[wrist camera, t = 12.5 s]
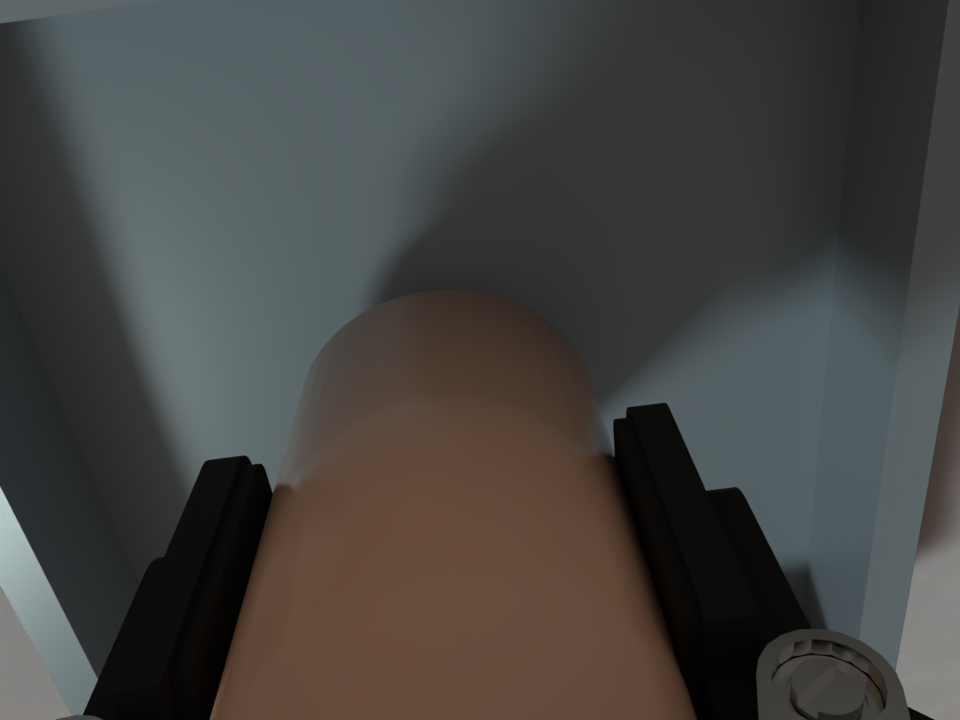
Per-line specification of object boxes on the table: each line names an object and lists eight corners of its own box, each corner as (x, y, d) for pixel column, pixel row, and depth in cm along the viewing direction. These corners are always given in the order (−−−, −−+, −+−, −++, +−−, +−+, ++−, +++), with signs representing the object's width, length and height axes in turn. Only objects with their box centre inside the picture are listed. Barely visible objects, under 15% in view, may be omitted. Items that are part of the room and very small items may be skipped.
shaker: (591, 266, 13) (921, 1082, 4) (607, 523, 15) (832, 1374, 6) (262, 309, 13) (-118, 1191, 4) (330, 557, 15) (184, 1436, 7)
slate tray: (913, -182, 12) (1049, -204, 9) (825, 611, 19) (886, 723, 17) (-160, -30, 12) (-324, -10, 10) (166, 689, 20) (124, 811, 17)
